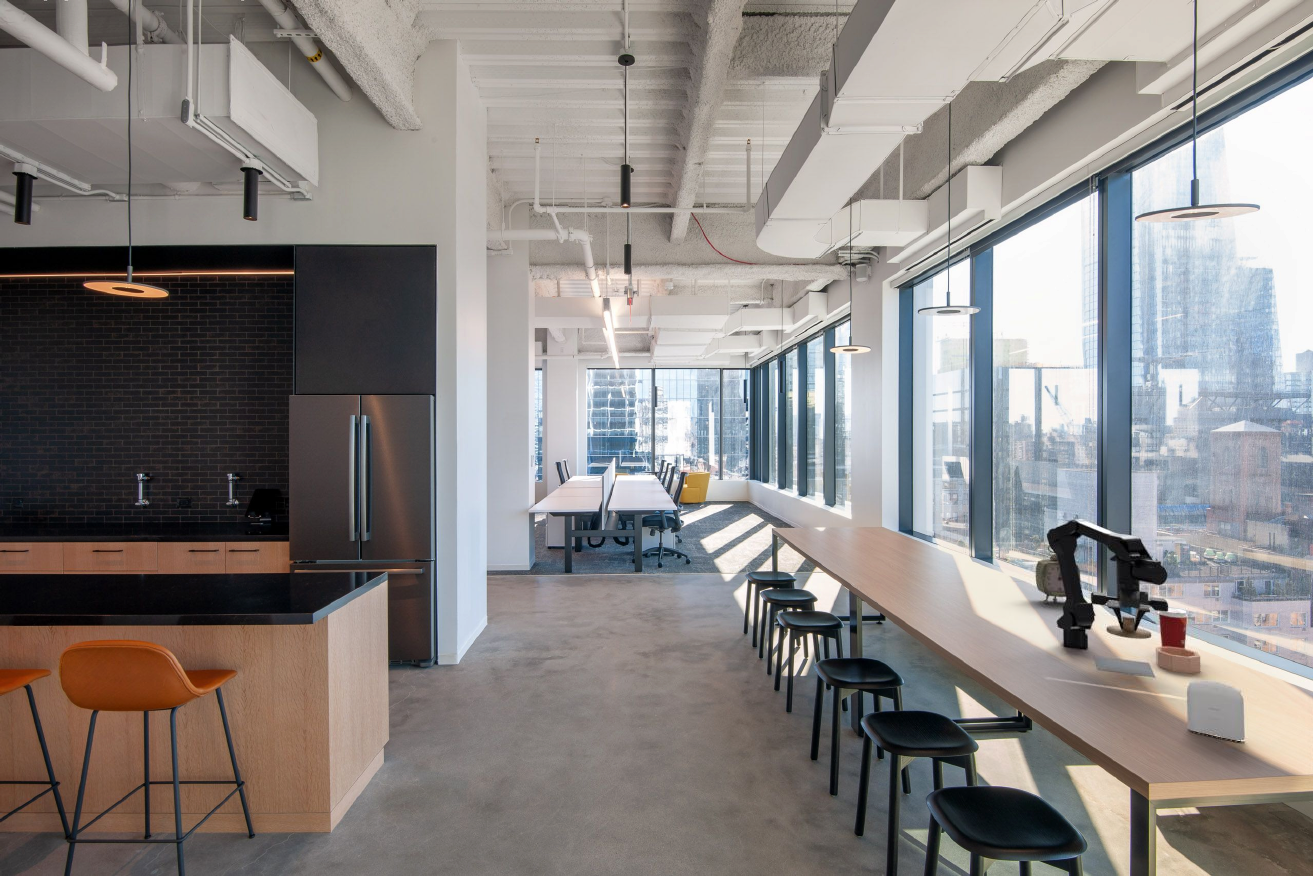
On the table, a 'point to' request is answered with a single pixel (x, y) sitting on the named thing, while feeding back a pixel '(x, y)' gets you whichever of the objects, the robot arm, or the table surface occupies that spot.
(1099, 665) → the mat
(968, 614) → the table surface
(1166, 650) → the bowl
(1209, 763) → the table surface
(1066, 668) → the table surface
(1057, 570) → the tabletop clock
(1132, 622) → the lid
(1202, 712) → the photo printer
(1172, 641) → the paper cup
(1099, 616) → the table surface
